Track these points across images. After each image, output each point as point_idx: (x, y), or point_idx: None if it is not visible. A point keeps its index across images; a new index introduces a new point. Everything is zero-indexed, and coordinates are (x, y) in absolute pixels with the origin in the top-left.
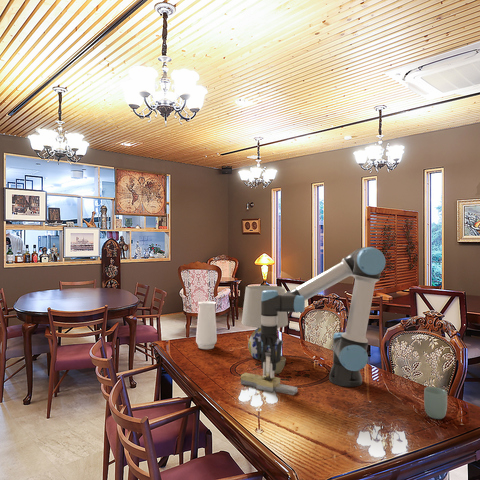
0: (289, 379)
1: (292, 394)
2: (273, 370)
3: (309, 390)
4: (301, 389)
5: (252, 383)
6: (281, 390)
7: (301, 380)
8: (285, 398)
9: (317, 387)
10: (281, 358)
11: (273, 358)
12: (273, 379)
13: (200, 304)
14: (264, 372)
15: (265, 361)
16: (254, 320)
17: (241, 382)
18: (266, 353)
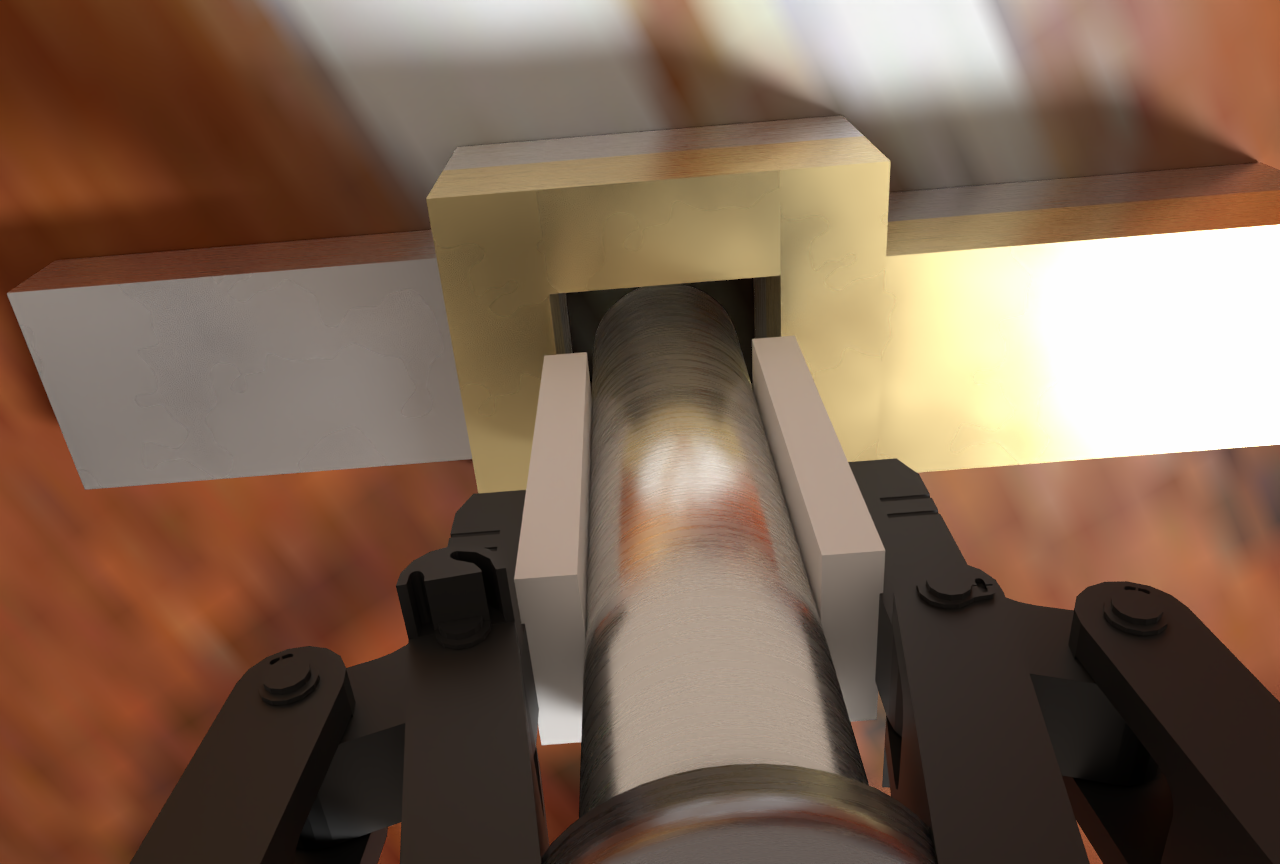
0: (560, 802)
1: (73, 262)
2: (503, 491)
3: (28, 607)
4: (152, 574)
5: (998, 204)
6: (302, 253)
7: (391, 854)
8: (56, 9)
9: (31, 763)
10: None
11: (430, 744)
12: None
13: None
14: (768, 392)
15: (813, 614)
16: None
17: (1263, 171)
18: (777, 831)
